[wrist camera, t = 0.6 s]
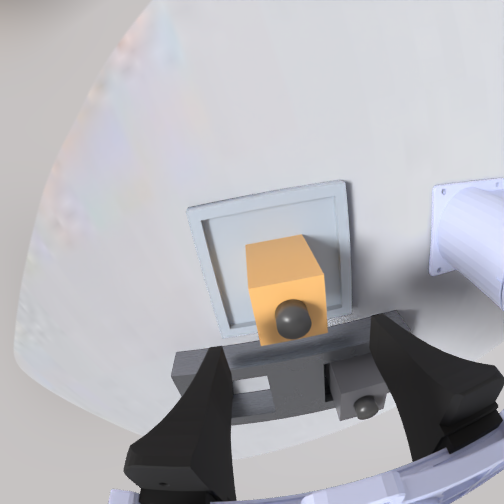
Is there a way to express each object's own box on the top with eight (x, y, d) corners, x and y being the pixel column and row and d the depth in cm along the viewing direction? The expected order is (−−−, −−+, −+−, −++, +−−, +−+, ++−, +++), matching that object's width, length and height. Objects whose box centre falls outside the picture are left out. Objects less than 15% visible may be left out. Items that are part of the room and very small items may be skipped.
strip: (396, 310, 25) (410, 329, 22) (388, 369, 28) (398, 389, 25) (176, 352, 25) (170, 376, 23) (201, 405, 29) (199, 428, 26)
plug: (301, 234, 21) (330, 286, 14) (307, 283, 23) (332, 345, 16) (245, 244, 21) (249, 301, 15) (255, 293, 23) (262, 359, 16)
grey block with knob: (365, 334, 26) (394, 391, 19) (363, 363, 27) (387, 418, 21) (323, 344, 26) (344, 405, 19) (325, 373, 27) (343, 431, 21)
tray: (340, 179, 20) (345, 182, 19) (348, 306, 24) (351, 313, 23) (188, 207, 20) (185, 211, 19) (222, 330, 24) (222, 338, 24)
